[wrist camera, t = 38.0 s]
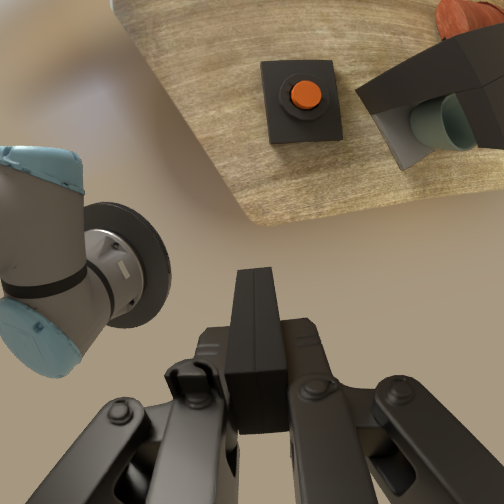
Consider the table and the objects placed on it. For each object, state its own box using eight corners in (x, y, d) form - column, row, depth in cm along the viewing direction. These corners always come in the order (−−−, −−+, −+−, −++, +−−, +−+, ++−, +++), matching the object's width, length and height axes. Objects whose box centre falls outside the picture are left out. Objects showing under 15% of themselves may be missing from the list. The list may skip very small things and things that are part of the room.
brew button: (292, 109, 32) (294, 107, 30) (289, 84, 31) (291, 81, 29) (320, 109, 32) (323, 106, 30) (316, 83, 31) (319, 80, 29)
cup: (428, 97, 32) (467, 87, 23) (446, 141, 34) (486, 142, 25) (394, 109, 33) (431, 99, 24) (414, 156, 35) (453, 159, 26)
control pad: (269, 144, 37) (271, 142, 33) (260, 66, 33) (260, 57, 29) (338, 140, 37) (347, 139, 33) (328, 64, 33) (335, 56, 29)
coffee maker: (453, 134, 35) (562, 139, 12) (400, 169, 38) (517, 192, 15) (414, 61, 31) (513, 20, 9) (354, 90, 34) (453, 35, 11)
